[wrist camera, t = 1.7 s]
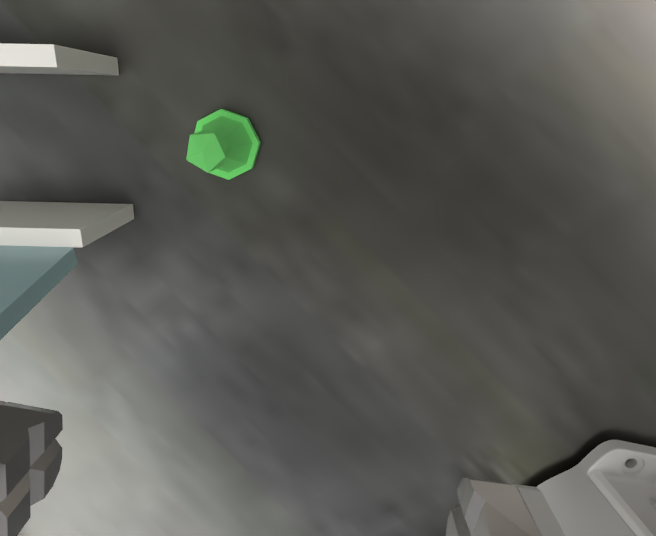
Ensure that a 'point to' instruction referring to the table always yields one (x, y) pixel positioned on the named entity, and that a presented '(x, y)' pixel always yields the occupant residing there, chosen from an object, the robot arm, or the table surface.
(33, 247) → the light blue flat panel
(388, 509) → the table surface
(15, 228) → the white open box
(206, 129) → the game piece
